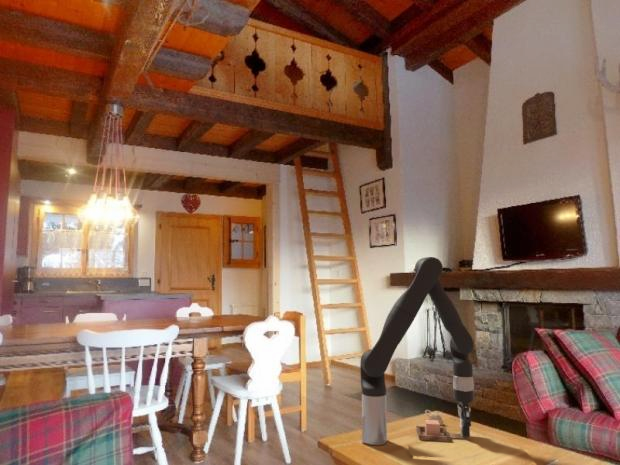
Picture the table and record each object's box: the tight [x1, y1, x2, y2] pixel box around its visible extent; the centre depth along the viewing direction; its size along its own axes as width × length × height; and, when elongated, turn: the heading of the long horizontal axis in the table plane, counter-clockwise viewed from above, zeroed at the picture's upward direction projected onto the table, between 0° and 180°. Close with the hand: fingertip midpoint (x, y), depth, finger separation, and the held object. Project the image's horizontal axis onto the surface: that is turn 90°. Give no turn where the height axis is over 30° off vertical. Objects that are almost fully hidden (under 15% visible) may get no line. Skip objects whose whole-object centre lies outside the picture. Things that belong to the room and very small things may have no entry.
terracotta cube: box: [424, 419, 441, 436], centre depth 166 cm, size 5×5×5 cm
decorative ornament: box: [424, 409, 444, 426], centre depth 181 cm, size 4×8×5 cm, turn 27°
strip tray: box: [415, 418, 472, 443], centre depth 166 cm, size 19×11×7 cm, turn 82°
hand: (465, 434), depth 165 cm, fingers open, 4 cm apart
